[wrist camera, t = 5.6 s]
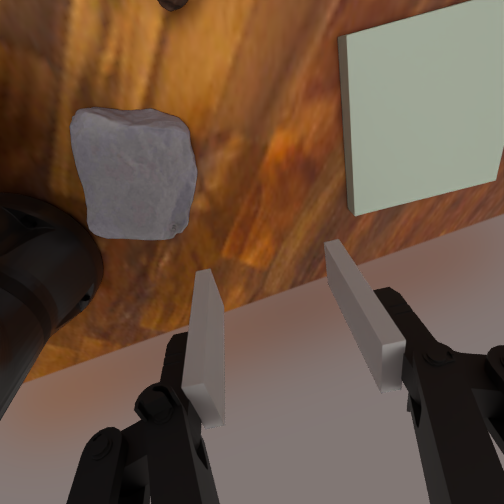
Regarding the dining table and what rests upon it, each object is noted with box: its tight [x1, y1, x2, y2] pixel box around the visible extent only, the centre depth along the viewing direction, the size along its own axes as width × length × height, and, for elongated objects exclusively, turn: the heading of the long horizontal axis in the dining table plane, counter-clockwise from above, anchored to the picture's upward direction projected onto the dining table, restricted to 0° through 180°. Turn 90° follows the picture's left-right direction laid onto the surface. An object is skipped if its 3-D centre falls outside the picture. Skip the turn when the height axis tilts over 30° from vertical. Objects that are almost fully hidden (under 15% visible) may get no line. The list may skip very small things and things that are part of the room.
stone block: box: [70, 107, 197, 240], centre depth 28 cm, size 12×5×10 cm
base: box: [338, 0, 504, 216], centre depth 28 cm, size 15×16×2 cm
